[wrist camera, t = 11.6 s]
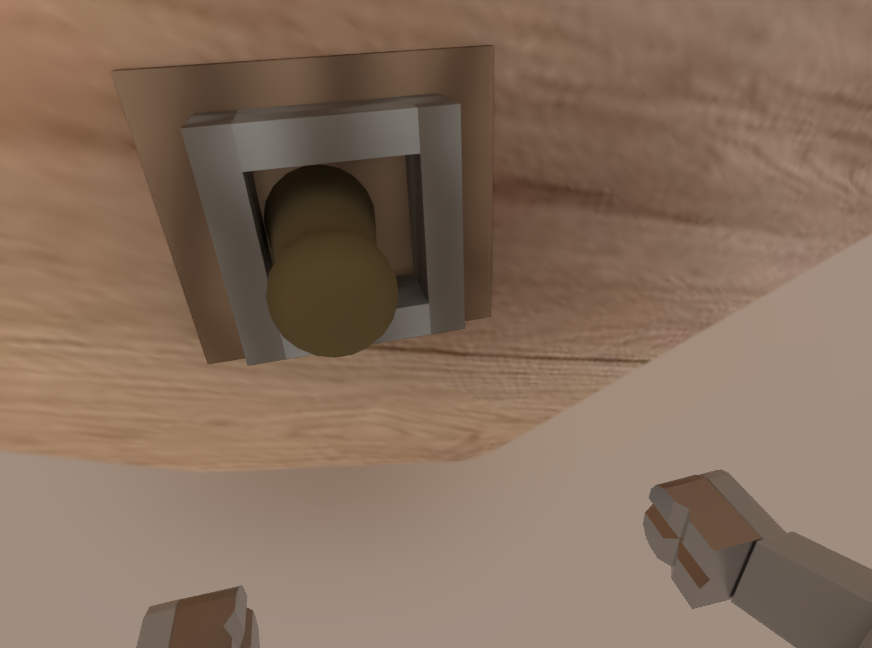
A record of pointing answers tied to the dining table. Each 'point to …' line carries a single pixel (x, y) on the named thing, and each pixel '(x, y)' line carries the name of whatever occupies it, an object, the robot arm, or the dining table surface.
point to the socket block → (312, 145)
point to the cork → (326, 263)
